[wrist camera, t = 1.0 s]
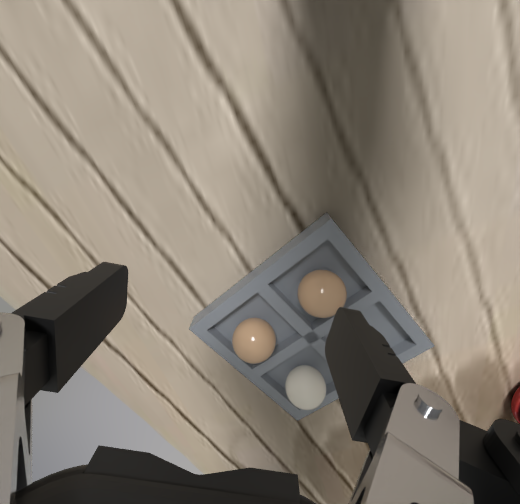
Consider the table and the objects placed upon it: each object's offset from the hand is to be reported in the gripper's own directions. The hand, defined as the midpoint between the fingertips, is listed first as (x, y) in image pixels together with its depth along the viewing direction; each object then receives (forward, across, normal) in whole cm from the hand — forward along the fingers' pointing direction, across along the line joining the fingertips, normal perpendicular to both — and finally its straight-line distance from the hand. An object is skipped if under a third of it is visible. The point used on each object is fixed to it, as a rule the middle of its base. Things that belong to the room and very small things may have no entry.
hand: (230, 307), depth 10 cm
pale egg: (+17, -11, +20) cm, 28 cm away
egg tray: (+20, -10, +13) cm, 26 cm away
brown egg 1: (+17, -3, +14) cm, 22 cm away
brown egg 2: (+16, -9, +6) cm, 20 cm away
